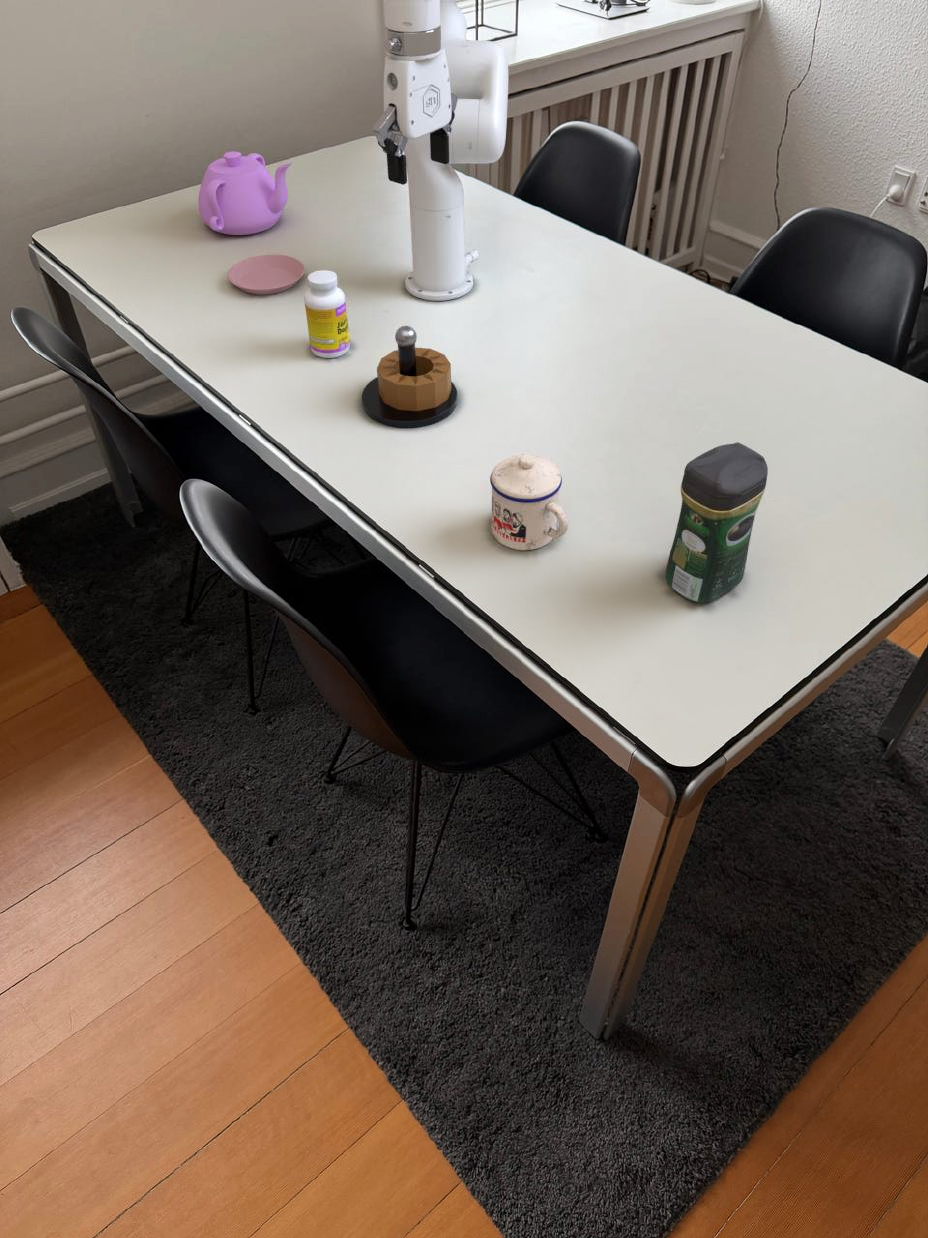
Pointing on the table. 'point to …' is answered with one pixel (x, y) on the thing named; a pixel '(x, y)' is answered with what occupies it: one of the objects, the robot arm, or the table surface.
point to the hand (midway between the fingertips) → (419, 171)
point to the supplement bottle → (326, 315)
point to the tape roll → (415, 381)
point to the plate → (266, 274)
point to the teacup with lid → (526, 502)
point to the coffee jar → (715, 521)
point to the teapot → (242, 194)
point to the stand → (407, 367)
